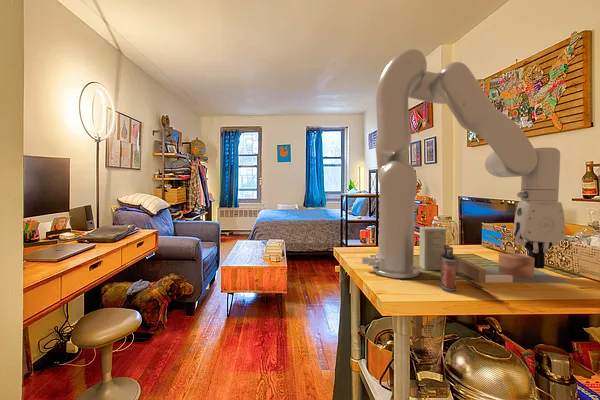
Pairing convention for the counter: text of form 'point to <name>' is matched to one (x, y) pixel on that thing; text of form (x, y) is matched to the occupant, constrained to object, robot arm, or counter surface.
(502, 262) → the block
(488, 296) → the counter surface
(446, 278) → the lighter
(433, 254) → the skincare box
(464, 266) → the trap deck
